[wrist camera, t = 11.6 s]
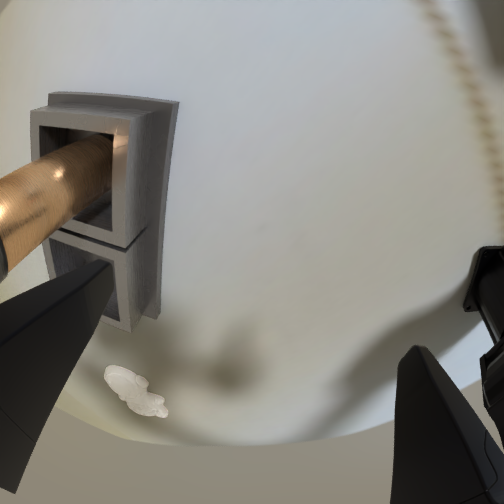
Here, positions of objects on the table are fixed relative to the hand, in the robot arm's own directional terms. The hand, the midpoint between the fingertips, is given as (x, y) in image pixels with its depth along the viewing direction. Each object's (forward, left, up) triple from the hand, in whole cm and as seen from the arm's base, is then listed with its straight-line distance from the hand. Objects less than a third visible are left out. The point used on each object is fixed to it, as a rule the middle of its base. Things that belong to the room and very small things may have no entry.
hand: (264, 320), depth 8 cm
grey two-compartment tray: (-2, +15, -13) cm, 20 cm away
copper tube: (+2, +13, -12) cm, 18 cm away
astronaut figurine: (-30, +23, -14) cm, 40 cm away
